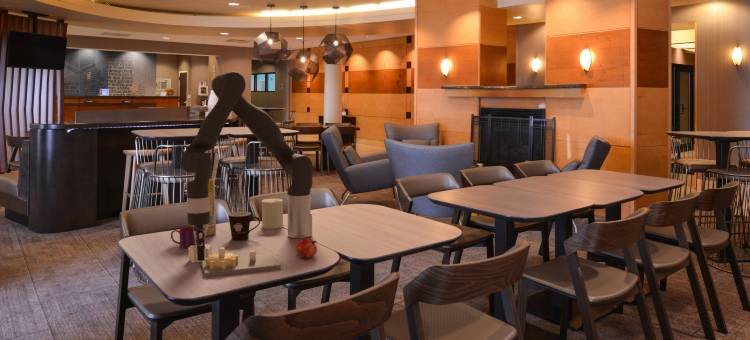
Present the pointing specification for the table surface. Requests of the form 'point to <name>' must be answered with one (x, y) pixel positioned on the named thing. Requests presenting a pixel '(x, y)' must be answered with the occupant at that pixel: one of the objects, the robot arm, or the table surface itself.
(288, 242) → the table surface
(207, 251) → the loose gear
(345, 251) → the table surface
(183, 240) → the cup
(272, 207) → the can
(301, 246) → the pomegranate
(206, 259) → the gear board
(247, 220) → the coffee mug
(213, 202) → the juice carton
